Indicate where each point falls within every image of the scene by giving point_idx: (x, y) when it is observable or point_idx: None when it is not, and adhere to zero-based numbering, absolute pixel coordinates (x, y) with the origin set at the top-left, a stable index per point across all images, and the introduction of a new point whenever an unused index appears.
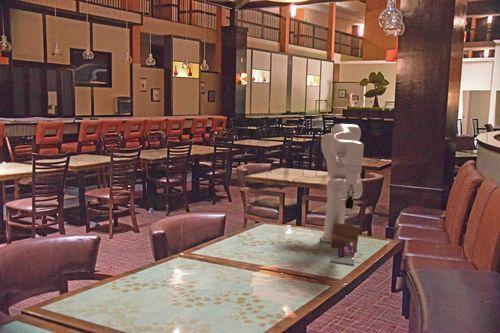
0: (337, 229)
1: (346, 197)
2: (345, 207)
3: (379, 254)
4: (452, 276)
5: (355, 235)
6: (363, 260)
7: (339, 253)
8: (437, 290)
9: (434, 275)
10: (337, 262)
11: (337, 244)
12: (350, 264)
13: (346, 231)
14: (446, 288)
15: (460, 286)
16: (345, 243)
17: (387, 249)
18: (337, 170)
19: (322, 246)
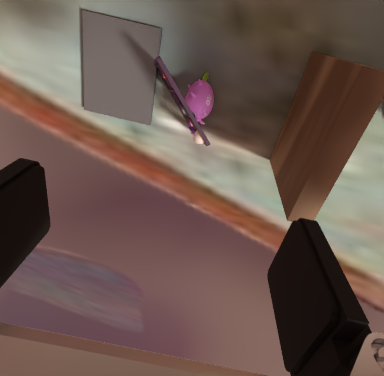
0: (332, 92)
1: (338, 298)
2: (21, 158)
3: (249, 227)
4: (114, 315)
5: (284, 181)
6: (163, 158)
7: (159, 68)
8: None
9: (104, 289)
10: (84, 43)
11: (155, 58)
12: (85, 96)
13: (307, 145)
14: (28, 278)
15: (56, 304)
16: (182, 106)
17: None
18: None
19: (340, 4)
